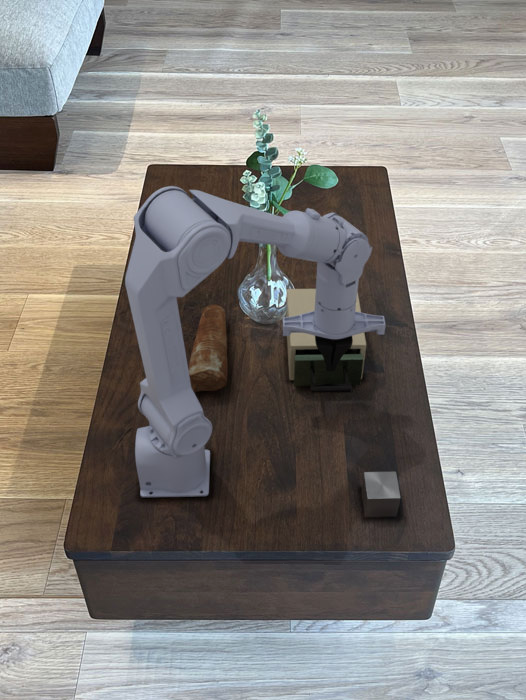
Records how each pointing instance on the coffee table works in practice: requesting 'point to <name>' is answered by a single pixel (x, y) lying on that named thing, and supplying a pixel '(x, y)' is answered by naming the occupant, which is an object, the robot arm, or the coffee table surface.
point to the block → (380, 494)
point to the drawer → (321, 381)
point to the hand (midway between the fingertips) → (330, 366)
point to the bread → (209, 352)
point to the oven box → (304, 303)
